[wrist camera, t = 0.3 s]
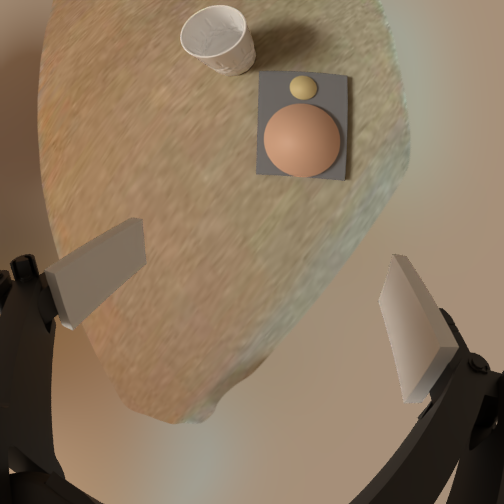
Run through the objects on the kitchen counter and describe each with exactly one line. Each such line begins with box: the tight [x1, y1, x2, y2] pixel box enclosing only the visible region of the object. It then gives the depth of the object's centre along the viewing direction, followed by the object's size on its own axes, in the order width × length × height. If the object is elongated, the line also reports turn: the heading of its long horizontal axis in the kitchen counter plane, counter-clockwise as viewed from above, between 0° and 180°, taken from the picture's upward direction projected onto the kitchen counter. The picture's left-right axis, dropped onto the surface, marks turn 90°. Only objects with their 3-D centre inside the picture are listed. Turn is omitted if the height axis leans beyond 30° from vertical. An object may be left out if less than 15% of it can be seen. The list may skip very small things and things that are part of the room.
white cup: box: [180, 5, 256, 76], centre depth 27 cm, size 8×8×10 cm
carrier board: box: [256, 71, 348, 181], centre depth 33 cm, size 15×12×2 cm
